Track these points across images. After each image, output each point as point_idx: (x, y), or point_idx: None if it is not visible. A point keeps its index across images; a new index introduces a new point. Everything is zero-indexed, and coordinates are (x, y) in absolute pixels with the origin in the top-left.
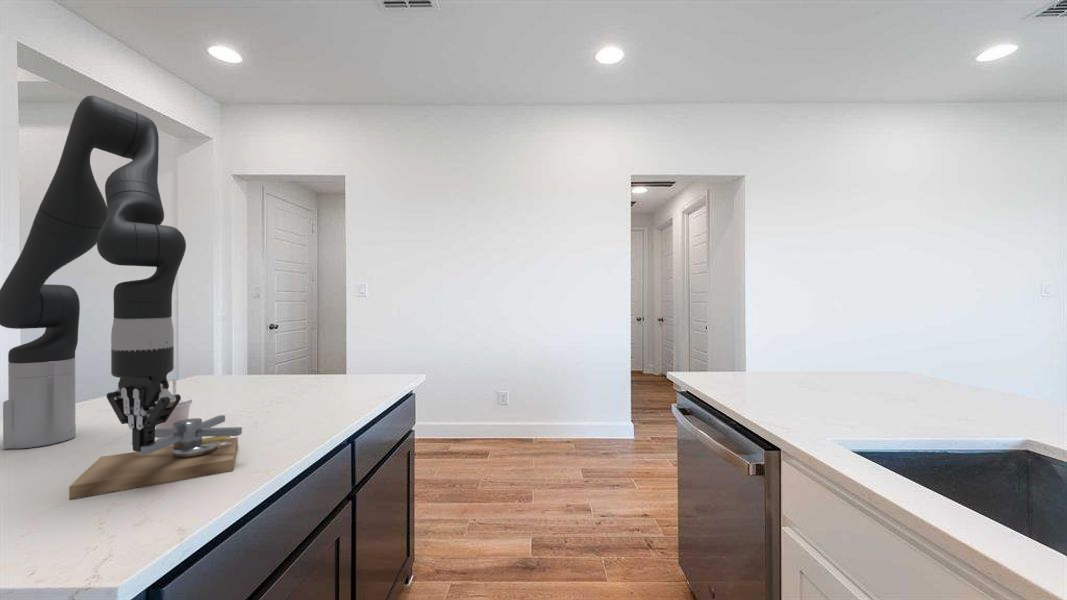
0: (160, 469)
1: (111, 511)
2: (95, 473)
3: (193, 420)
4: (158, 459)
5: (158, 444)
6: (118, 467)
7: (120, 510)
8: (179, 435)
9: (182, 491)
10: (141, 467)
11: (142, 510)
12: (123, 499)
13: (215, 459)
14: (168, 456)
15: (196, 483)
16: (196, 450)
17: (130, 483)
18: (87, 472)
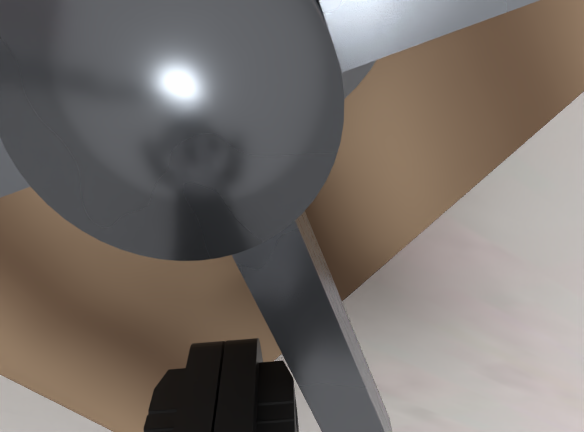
0: (343, 259)
1: (441, 417)
2: (74, 370)
3: (187, 46)
4: None
5: (372, 395)
6: (75, 302)
7: (466, 407)
8: (297, 221)
9: (564, 261)
10: (199, 270)
11: (551, 391)
12: (376, 362)
13: (555, 36)
14: None
15: (556, 184)
16: (370, 65)
17: None
18: (20, 373)
